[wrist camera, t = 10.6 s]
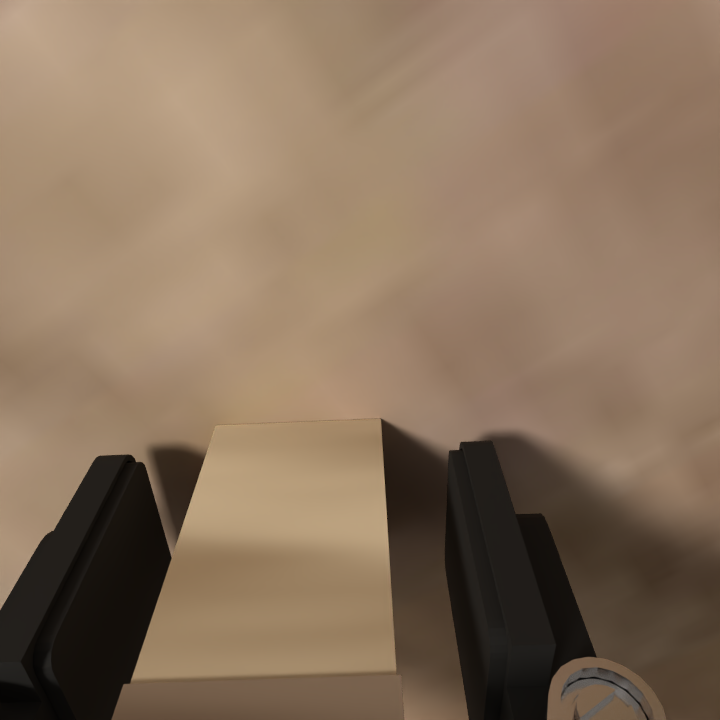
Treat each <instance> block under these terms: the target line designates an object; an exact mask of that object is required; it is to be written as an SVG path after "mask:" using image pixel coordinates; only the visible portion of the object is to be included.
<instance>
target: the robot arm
mask: <svg viewBox="0 0 720 720" xmlns="http://www.w3.org/2000/svg"><path fill="white" fill-rule="evenodd" d="M171 559H172V558H171V554H170V551H169V547H168V544H167V540H166V537H165V533H164V530H163V526H162V523H161V519H160V516H159V512H158V509H157V505H156V502H155V498H154V495H153V491H152V488H151V484H150V481H149V477H148V474H147V470H146V467H145V465H144V464H143V463H142V462H136V461H135V458H134V457H133V456H132V455H106V456H98V457H97V458H96V459H95V460H94V462H93V463H92V465H91V467H90V468H89V470H88V472H87V474H86V475H85V477H84V479H83V481H82V482H81V484H80V486H79V488H78V489H77V491H76V493H75V495H74V496H73V498H72V500H71V502H70V503H69V505H68V507H67V509H66V510H65V512H64V514H63V515H62V517H61V519H60V521H59V522H58V524H57V526H56V528H55V529H54V531H51V532H50V533H48V534H47V535H45V537H44V538H43V539H42V541H41V542H40V544H39V545H38V547H37V549H36V550H35V552H34V554H33V555H32V557H31V559H30V561H29V562H28V564H27V566H26V567H25V569H24V571H23V572H22V574H21V576H20V578H19V579H18V581H17V583H16V584H15V586H14V588H13V590H12V591H11V593H10V595H9V596H8V598H7V600H6V601H5V603H4V605H3V607H2V608H1V610H0V720H112V717H113V714H114V711H115V708H116V705H117V702H118V699H119V696H120V693H121V690H122V687H123V684H130V682H131V679H132V676H133V673H134V670H135V667H136V664H137V661H138V658H139V655H140V652H141V649H142V646H143V643H144V640H145V637H146V634H147V631H148V628H149V625H150V622H151V619H152V616H153V613H154V610H155V607H156V604H157V601H158V598H159V595H160V592H161V589H162V586H163V583H164V580H165V577H166V574H167V571H168V568H169V565H170V562H171ZM445 568H446V576H447V582H448V589H449V595H450V601H451V608H452V614H453V620H454V627H455V633H456V639H457V646H458V652H459V658H460V665H461V671H462V677H463V683H464V690H465V696H466V702H467V709H468V715H469V720H666V716H665V712H664V708H663V706H662V704H661V703H660V701H659V699H658V698H657V696H656V694H655V693H654V691H653V690H652V689H651V688H650V687H649V686H648V685H647V684H646V682H645V681H644V680H643V679H642V678H641V677H640V676H638V675H637V674H635V673H634V672H632V671H631V670H629V669H628V668H626V667H625V666H623V665H621V664H618V663H616V662H613V661H610V660H608V659H604V658H597V657H596V654H595V651H594V649H593V646H592V643H591V640H590V638H589V635H588V632H587V630H586V627H585V624H584V621H583V619H582V616H581V613H580V611H579V608H578V605H577V603H576V600H575V597H574V594H573V592H572V589H571V586H570V584H569V581H568V578H567V575H566V573H565V570H564V567H563V565H562V562H561V559H560V556H559V554H558V551H557V548H556V546H555V543H554V540H553V537H552V535H551V532H550V529H549V527H548V524H547V522H546V520H545V518H544V516H543V515H542V514H515V511H514V508H513V505H512V502H511V499H510V495H509V492H508V489H507V486H506V483H505V479H504V476H503V473H502V470H501V467H500V463H499V460H498V457H497V454H496V451H495V447H494V445H493V442H492V441H474V442H461V443H460V447H459V450H450V451H449V459H448V485H447V511H446V537H445Z"/></svg>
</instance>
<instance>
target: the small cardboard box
mask: <svg viewBox="0 0 720 720" xmlns="http://www.w3.org/2000/svg"><path fill="white" fill-rule="evenodd" d="M112 720H404V708H403V693H402V679H401V675H397V673H396V657H395V641H394V624H393V608H392V592H391V576H390V559H389V543H388V527H387V511H386V494H385V478H384V462H383V446H382V429H381V419H359V420H335V421H310V422H285V423H260V424H236V425H216V426H215V429H214V432H213V435H212V438H211V441H210V444H209V447H208V450H207V453H206V456H205V459H204V462H203V465H202V468H201V471H200V474H199V477H198V480H197V484H196V487H195V490H194V493H193V496H192V499H191V502H190V505H189V508H188V511H187V514H186V517H185V520H184V523H183V526H182V529H181V532H180V535H179V538H178V541H177V544H176V547H175V550H174V553H173V556H172V559H171V562H170V565H169V568H168V571H167V574H166V577H165V580H164V583H163V586H162V589H161V592H160V595H159V598H158V601H157V604H156V607H155V610H154V613H153V616H152V619H151V622H150V625H149V628H148V631H147V634H146V637H145V640H144V643H143V646H142V649H141V652H140V655H139V658H138V661H137V664H136V667H135V670H134V673H133V676H132V679H131V682H130V684H123V687H122V690H121V693H120V696H119V699H118V702H117V705H116V708H115V711H114V714H113V717H112Z"/></svg>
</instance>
